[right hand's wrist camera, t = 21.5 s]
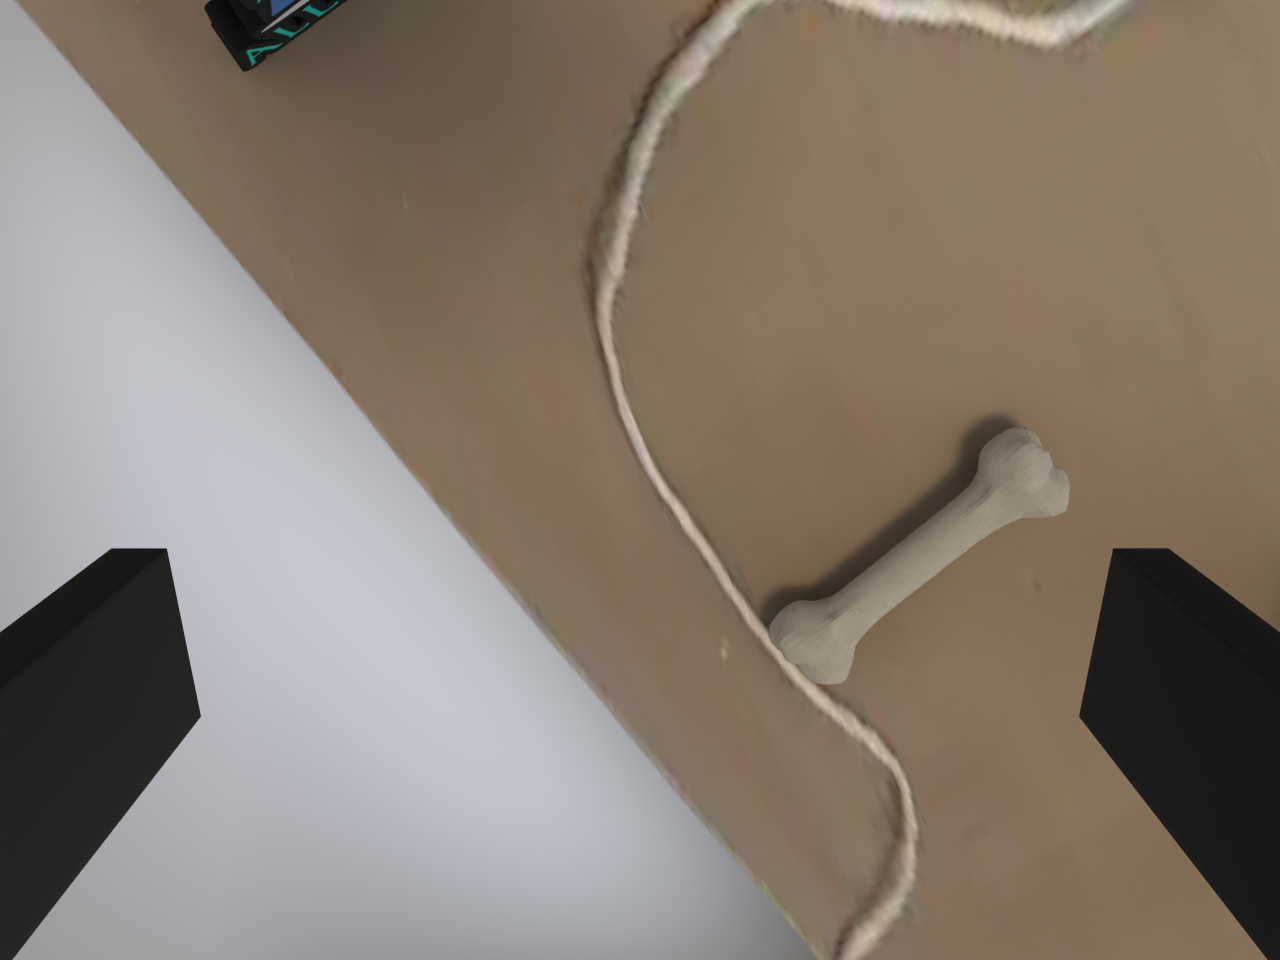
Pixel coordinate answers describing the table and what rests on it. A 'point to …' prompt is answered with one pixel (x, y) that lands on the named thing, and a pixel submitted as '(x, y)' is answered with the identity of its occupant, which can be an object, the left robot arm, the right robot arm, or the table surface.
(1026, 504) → the dog toy
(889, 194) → the table surface
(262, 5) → the decorative sign
